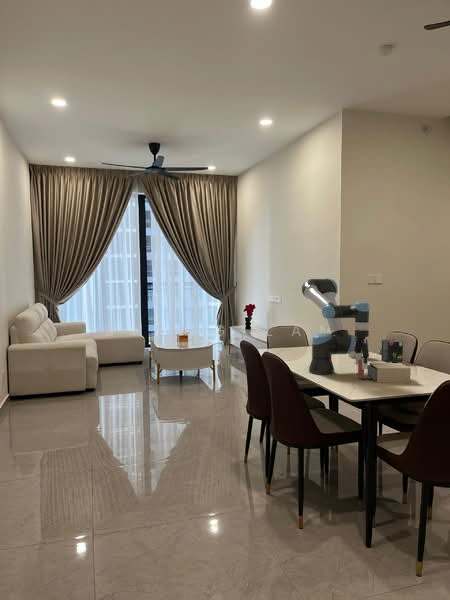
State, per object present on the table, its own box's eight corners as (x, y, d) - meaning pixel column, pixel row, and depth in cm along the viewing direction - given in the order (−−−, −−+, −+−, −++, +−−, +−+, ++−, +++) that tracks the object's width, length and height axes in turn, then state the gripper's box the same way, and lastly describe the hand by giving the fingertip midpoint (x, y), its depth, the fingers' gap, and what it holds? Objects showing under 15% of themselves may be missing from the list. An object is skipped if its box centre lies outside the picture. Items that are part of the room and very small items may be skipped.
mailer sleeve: (377, 382, 245) (377, 368, 244) (369, 376, 260) (369, 362, 259) (410, 382, 244) (410, 368, 244) (400, 376, 259) (400, 362, 259)
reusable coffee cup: (362, 355, 326) (362, 335, 325) (365, 358, 314) (366, 337, 313) (344, 355, 328) (345, 335, 327) (347, 358, 315) (347, 337, 314)
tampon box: (389, 363, 298) (389, 341, 297) (380, 360, 307) (381, 339, 306) (403, 362, 301) (403, 341, 300) (394, 359, 310) (394, 339, 309)
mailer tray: (361, 380, 246) (361, 362, 246) (355, 375, 258) (355, 358, 258) (404, 380, 245) (405, 362, 245) (396, 375, 258) (397, 358, 257)
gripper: (375, 332, 238) (374, 371, 239) (362, 327, 263) (361, 362, 264) (361, 332, 238) (360, 371, 239) (349, 327, 263) (349, 362, 264)
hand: (361, 366), depth 252 cm, fingers open, 13 cm apart
